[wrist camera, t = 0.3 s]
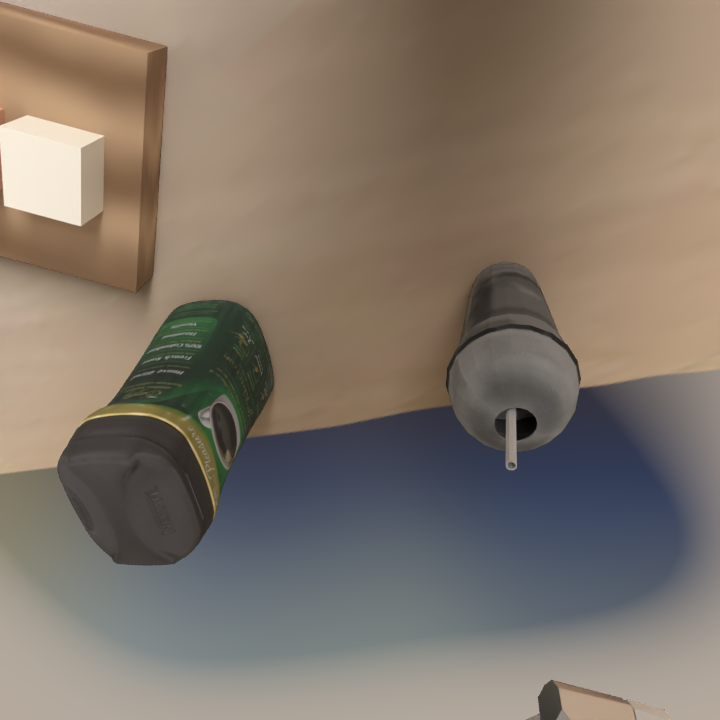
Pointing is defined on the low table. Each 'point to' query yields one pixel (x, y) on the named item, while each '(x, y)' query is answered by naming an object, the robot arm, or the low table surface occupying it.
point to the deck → (93, 114)
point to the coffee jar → (169, 435)
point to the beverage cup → (511, 365)
